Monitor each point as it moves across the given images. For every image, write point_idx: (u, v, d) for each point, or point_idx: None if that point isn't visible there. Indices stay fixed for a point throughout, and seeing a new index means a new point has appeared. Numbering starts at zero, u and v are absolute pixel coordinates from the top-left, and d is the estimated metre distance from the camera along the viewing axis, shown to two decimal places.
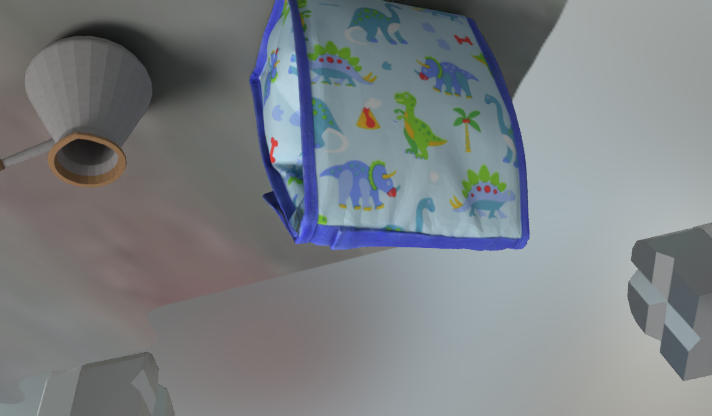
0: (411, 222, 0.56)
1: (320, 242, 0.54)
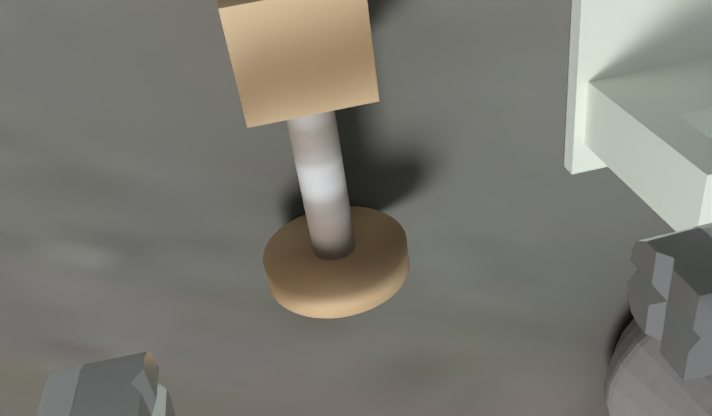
0: None
1: None
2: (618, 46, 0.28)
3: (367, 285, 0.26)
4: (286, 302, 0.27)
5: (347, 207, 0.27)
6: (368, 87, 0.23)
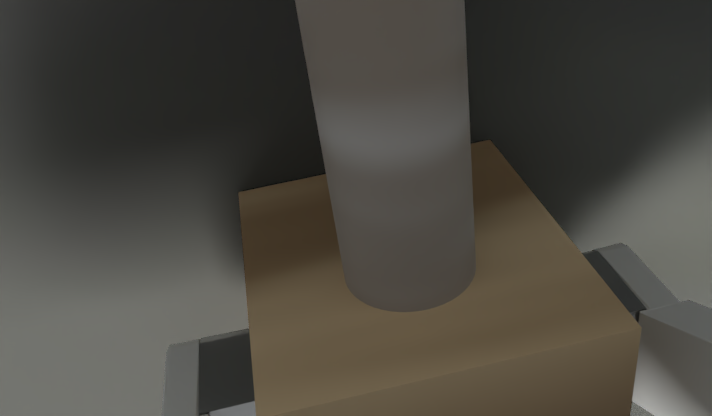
0: None
1: None
2: None
3: None
4: None
5: None
6: None
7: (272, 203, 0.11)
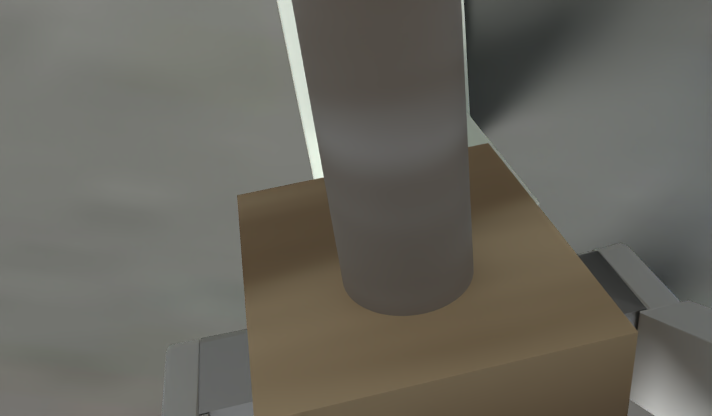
0: None
1: None
2: None
3: None
4: None
5: None
6: None
7: (271, 206, 0.11)
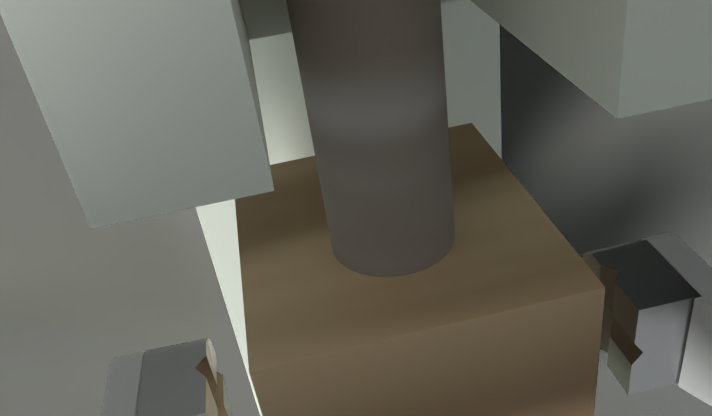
0: None
1: None
2: None
3: None
4: None
5: None
6: None
7: None
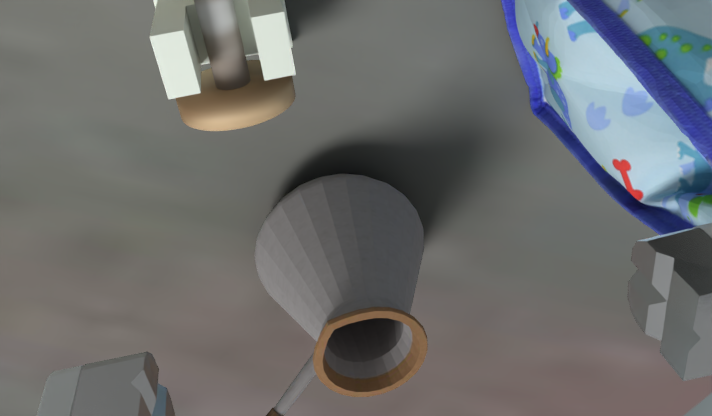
0: None
1: None
2: None
3: (251, 101, 0.32)
4: (190, 120, 0.33)
5: (239, 43, 0.33)
6: None
7: None
